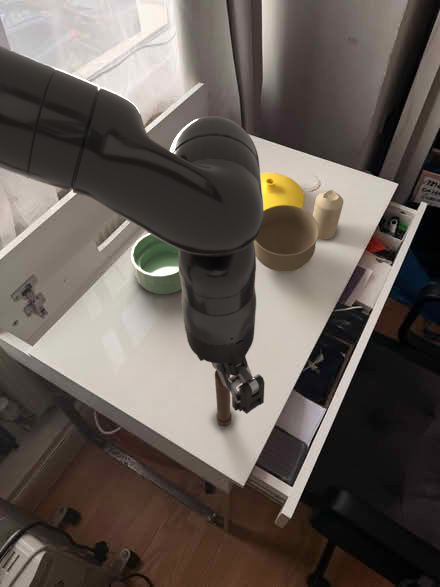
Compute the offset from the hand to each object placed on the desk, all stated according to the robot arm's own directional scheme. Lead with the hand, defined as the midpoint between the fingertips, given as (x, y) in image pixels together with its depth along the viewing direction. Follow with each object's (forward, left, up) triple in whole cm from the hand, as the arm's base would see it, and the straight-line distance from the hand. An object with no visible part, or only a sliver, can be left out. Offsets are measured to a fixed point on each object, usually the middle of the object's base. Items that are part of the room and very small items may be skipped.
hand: (222, 379), depth 58 cm
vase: (+36, +36, -15) cm, 53 cm away
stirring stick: (0, 0, -15) cm, 15 cm away
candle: (+41, +23, -15) cm, 49 cm away
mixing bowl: (+7, +32, -15) cm, 36 cm away
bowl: (+28, +21, -15) cm, 38 cm away
